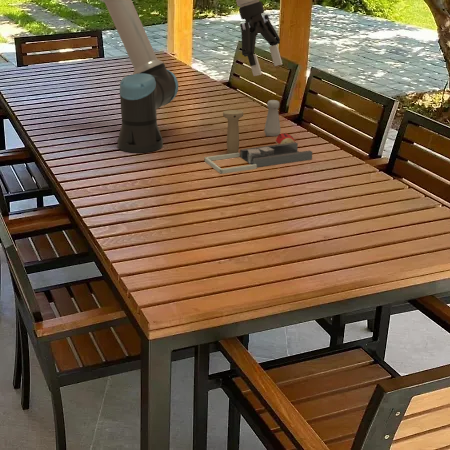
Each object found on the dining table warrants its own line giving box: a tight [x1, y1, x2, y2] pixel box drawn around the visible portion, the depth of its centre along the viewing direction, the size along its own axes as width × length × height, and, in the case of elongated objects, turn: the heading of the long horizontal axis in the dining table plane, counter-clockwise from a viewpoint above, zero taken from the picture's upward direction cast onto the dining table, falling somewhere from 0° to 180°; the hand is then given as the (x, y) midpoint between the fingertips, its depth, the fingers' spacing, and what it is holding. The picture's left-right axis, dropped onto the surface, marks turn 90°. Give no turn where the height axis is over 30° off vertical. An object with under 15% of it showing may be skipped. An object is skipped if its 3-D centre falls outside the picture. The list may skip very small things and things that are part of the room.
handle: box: [222, 109, 244, 154], centre depth 229 cm, size 5×6×15 cm
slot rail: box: [239, 141, 313, 168], centre depth 228 cm, size 20×11×4 cm, turn 113°
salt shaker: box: [263, 99, 282, 137], centre depth 251 cm, size 6×6×13 cm
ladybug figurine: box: [275, 132, 296, 145], centre depth 244 cm, size 7×10×4 cm
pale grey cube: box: [247, 149, 261, 165], centre depth 225 cm, size 4×4×4 cm
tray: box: [203, 152, 258, 175], centre depth 223 cm, size 12×13×2 cm
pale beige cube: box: [259, 146, 274, 157], centre depth 227 cm, size 4×4×4 cm
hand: (268, 70), depth 230 cm, fingers open, 13 cm apart
